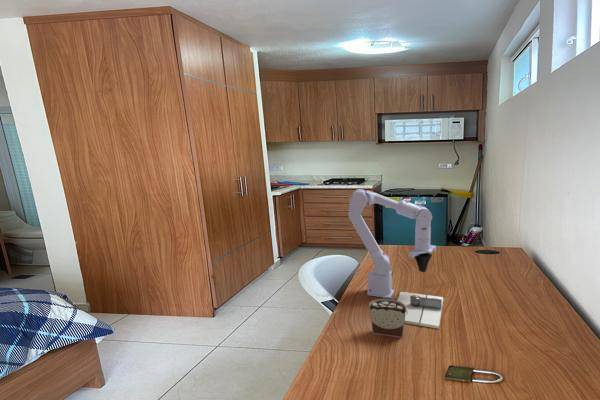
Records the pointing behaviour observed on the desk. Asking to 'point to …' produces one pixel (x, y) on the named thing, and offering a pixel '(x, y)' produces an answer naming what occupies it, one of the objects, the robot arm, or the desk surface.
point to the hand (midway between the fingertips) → (422, 271)
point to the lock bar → (425, 302)
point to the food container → (387, 317)
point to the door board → (421, 311)
